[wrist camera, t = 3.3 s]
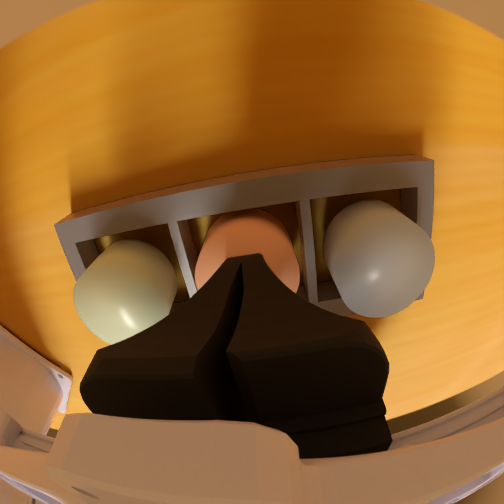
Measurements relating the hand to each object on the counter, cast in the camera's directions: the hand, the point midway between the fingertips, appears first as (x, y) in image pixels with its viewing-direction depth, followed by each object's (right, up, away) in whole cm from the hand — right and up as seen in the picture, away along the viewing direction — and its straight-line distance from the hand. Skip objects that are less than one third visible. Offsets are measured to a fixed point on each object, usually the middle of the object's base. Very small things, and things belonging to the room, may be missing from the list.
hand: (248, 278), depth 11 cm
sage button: (-5, 0, +2) cm, 5 cm away
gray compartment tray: (0, +1, +2) cm, 3 cm away
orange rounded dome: (0, +1, +2) cm, 3 cm away
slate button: (+5, +1, +1) cm, 5 cm away
